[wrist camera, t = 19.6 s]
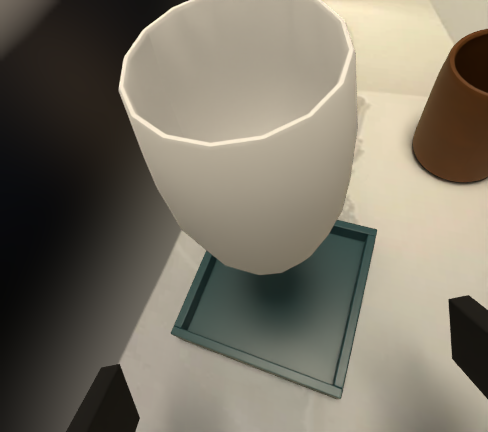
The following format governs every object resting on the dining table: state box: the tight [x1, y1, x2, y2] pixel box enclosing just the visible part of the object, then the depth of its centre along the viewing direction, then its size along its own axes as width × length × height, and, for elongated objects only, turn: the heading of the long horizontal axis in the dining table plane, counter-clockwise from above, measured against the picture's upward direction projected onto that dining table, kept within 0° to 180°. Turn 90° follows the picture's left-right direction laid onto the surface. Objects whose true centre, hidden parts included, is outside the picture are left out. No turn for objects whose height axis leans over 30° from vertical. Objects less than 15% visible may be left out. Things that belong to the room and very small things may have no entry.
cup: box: [119, 0, 358, 275], centre depth 18 cm, size 7×7×21 cm
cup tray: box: [171, 220, 377, 399], centre depth 27 cm, size 12×12×2 cm
